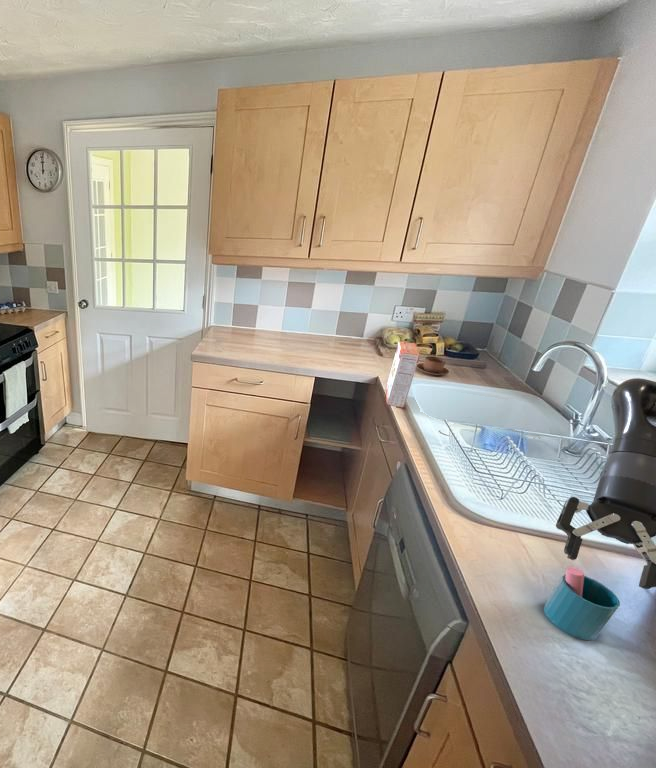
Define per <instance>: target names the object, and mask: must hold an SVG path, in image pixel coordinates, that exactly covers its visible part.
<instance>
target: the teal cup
mask: <svg viewBox="0 0 656 768" xmlns="http://www.w3.org/2000/svg"><path fill="white" fill-rule="evenodd" d="M565 577H566V573H565V574H563V576H562V577H560V578H561V579H560V580H559V582H558V583H557V585H556V586H555V588H554V590H553V591H552V592H551V594H550V596H549V597H548V599H547V601H546V602H545V604H544V607H543V612H544V614H545V616H546V618H547V619H548V620H549V621H550V623H552V624H553V625H554V626H556V628H558V629H560V630H561V631H563V632H565V634H568V635H569V636H572V637H574V638H577V639H580V640H584V641H593V640H596V639H597V638H598V636H599V635H600V634H601V632H602V631H603V630H604V628H605V627H606V626H607V624H608V623H609V622H610V620H611V619H612V617H613V616H614V615H615V613H616V612H617V611H618V609H619V608H620V607H621V601H620V599H619V598H618V596H617V595H616V594H615V593H614V592H613V591H612V590H611V589H610V588H608V586H606V585H604V584H602V583H601V582H598V581H597V580H595V579H594V578H591V577H588V576H587V575H584V582H583V592H582V597H580V596H579V595H577V594H576V593H575V592H574V591H572V590H571V589H570V588H569V586H568V585H567V584H566V582H565Z"/></svg>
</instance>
